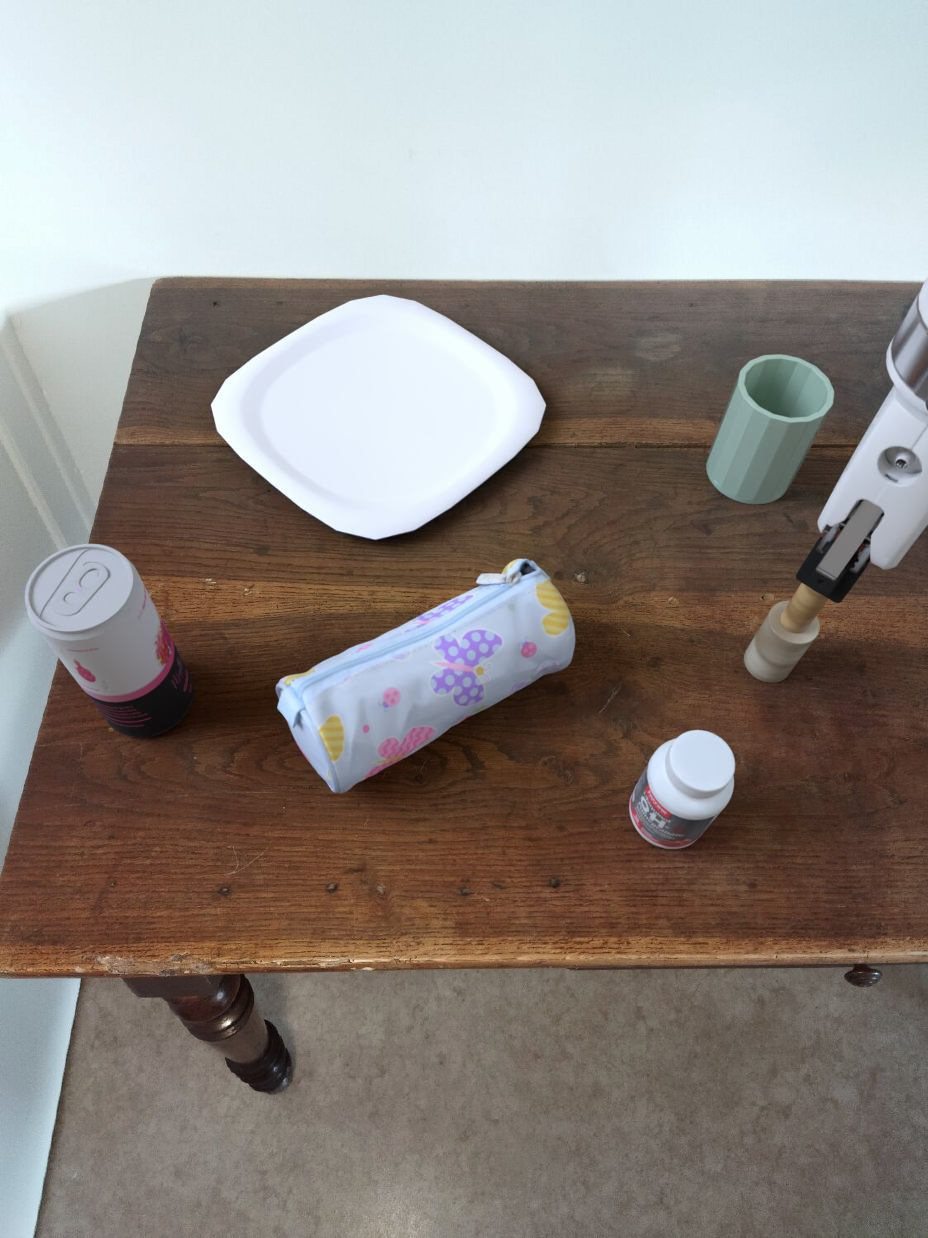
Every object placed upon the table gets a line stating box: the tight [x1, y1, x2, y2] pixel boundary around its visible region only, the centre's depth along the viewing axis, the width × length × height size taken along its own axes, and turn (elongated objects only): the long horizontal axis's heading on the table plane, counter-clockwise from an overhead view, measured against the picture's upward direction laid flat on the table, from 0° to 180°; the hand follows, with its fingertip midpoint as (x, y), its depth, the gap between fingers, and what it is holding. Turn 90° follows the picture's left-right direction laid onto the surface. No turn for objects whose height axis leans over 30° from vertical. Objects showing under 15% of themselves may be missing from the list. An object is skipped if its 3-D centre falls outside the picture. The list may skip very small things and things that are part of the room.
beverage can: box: [24, 543, 195, 738], centre depth 58 cm, size 7×6×15 cm
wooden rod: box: [743, 530, 866, 684], centre depth 60 cm, size 4×4×18 cm
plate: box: [210, 294, 547, 542], centre depth 79 cm, size 25×25×2 cm
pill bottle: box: [628, 729, 736, 850], centre depth 57 cm, size 5×5×10 cm
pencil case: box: [275, 558, 576, 795], centre depth 61 cm, size 21×9×10 cm, turn 123°
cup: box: [705, 353, 835, 505], centre depth 74 cm, size 7×7×10 cm
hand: (831, 570), depth 57 cm, fingers closed
